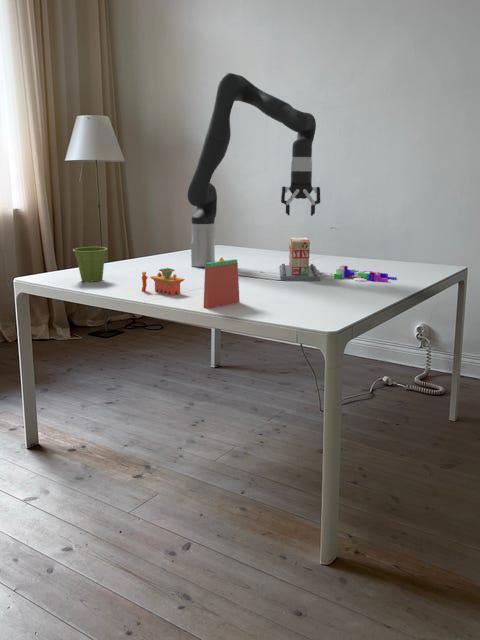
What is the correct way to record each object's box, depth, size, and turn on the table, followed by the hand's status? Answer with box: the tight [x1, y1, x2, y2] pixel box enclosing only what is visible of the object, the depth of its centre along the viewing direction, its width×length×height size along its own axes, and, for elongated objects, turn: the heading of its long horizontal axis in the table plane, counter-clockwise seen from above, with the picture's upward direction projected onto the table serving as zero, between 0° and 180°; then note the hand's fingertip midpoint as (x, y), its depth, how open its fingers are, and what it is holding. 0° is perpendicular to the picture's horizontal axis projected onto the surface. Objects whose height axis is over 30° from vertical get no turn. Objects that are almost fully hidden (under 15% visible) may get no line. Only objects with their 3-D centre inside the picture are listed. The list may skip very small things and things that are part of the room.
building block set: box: [321, 265, 397, 283], centre depth 232 cm, size 25×20×4 cm
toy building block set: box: [141, 257, 240, 309], centre depth 194 cm, size 12×35×14 cm, turn 44°
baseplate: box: [279, 263, 321, 282], centre depth 236 cm, size 14×26×2 cm, turn 177°
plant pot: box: [72, 246, 108, 283], centre depth 222 cm, size 12×12×11 cm
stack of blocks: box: [288, 236, 311, 275], centre depth 235 cm, size 21×6×12 cm, turn 178°
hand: (300, 215), depth 232 cm, fingers open, 8 cm apart
